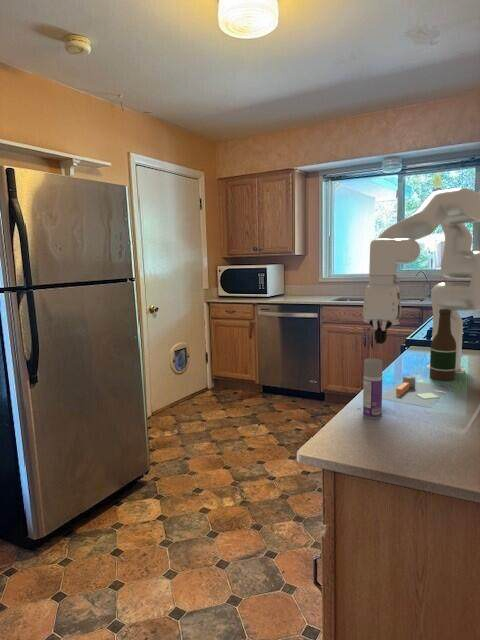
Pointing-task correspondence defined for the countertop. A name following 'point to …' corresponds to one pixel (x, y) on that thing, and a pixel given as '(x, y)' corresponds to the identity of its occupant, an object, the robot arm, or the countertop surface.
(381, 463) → the countertop surface
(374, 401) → the container
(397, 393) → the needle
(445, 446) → the countertop surface
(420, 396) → the tuner board
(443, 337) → the beer bottle
